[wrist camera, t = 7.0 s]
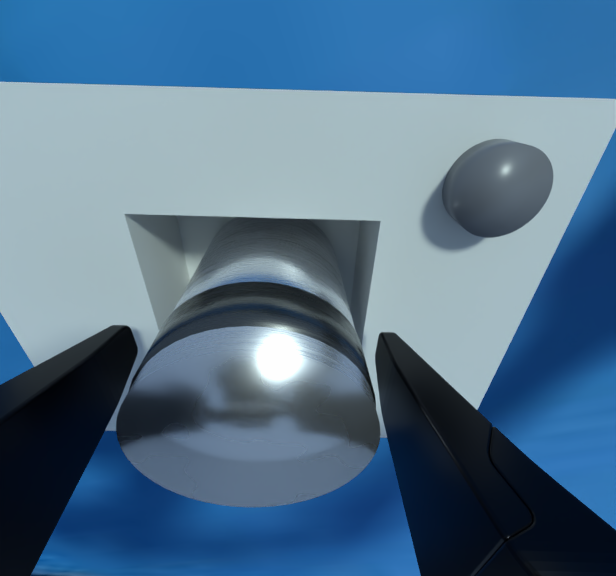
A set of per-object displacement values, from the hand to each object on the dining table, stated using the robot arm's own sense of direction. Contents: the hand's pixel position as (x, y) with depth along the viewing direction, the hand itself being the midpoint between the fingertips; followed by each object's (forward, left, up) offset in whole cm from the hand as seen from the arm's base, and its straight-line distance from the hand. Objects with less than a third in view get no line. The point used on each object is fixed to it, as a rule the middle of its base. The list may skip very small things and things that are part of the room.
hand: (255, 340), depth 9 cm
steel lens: (0, 0, -4) cm, 4 cm away
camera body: (0, 0, -6) cm, 6 cm away
